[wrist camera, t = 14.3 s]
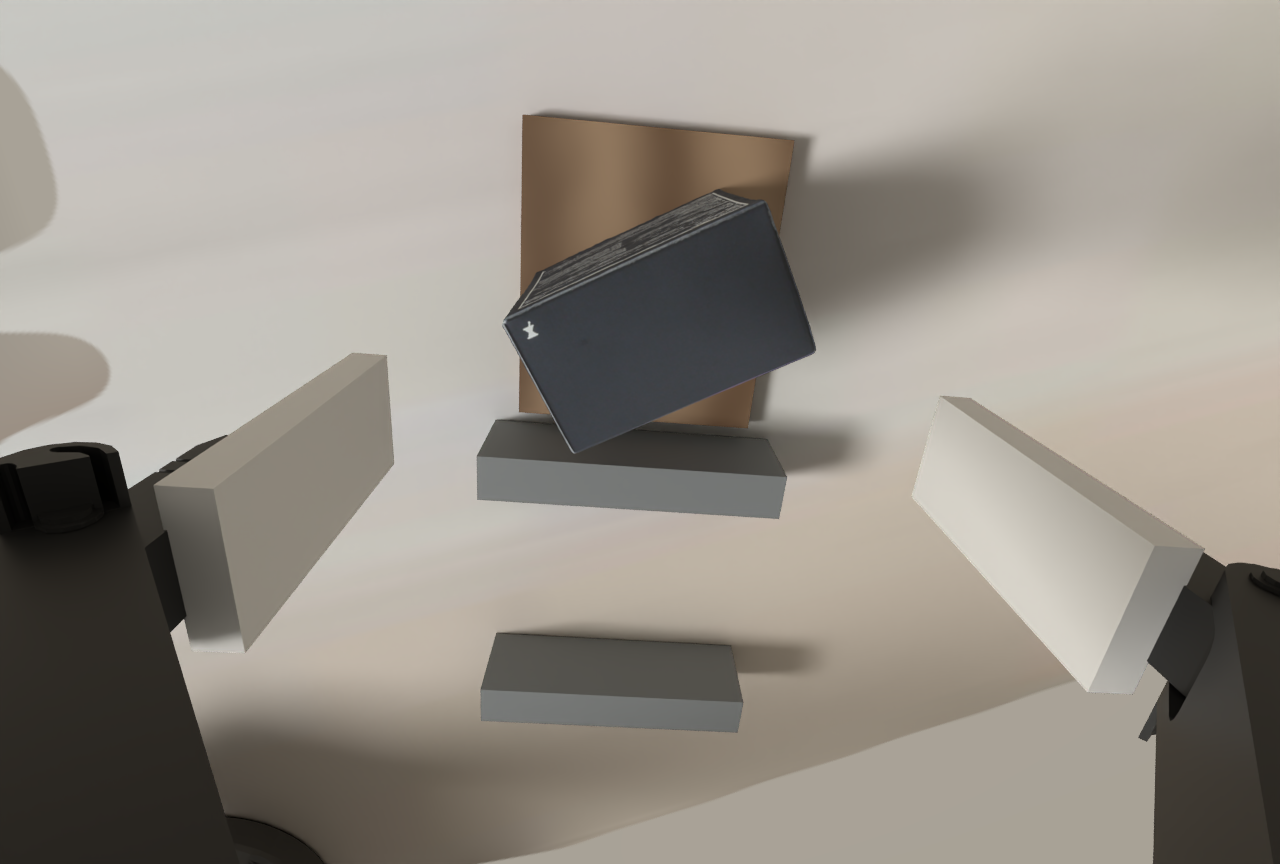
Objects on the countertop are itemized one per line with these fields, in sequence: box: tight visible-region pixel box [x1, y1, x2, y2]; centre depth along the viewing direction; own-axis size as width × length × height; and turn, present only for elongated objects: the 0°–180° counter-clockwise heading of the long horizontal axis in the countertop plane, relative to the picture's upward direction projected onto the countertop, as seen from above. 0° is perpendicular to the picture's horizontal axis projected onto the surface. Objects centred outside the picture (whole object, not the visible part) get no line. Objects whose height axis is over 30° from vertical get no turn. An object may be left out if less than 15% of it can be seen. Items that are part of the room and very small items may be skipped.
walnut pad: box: [519, 115, 794, 428], centre depth 33 cm, size 13×15×1 cm
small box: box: [502, 189, 816, 453], centre depth 28 cm, size 11×6×10 cm, turn 114°
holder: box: [477, 420, 787, 733], centre depth 38 cm, size 16×18×5 cm
